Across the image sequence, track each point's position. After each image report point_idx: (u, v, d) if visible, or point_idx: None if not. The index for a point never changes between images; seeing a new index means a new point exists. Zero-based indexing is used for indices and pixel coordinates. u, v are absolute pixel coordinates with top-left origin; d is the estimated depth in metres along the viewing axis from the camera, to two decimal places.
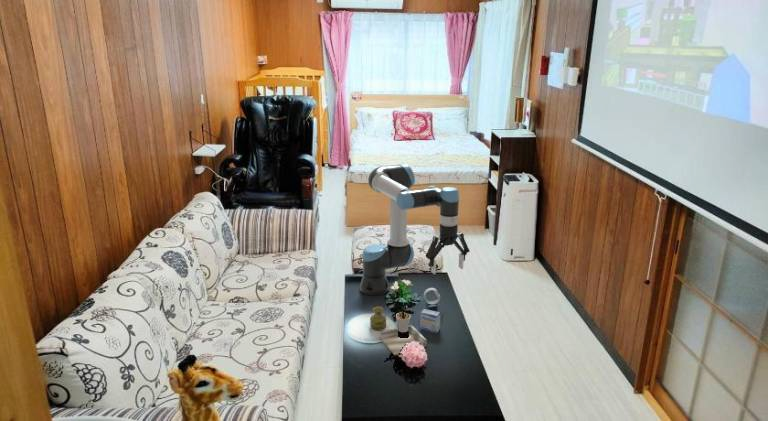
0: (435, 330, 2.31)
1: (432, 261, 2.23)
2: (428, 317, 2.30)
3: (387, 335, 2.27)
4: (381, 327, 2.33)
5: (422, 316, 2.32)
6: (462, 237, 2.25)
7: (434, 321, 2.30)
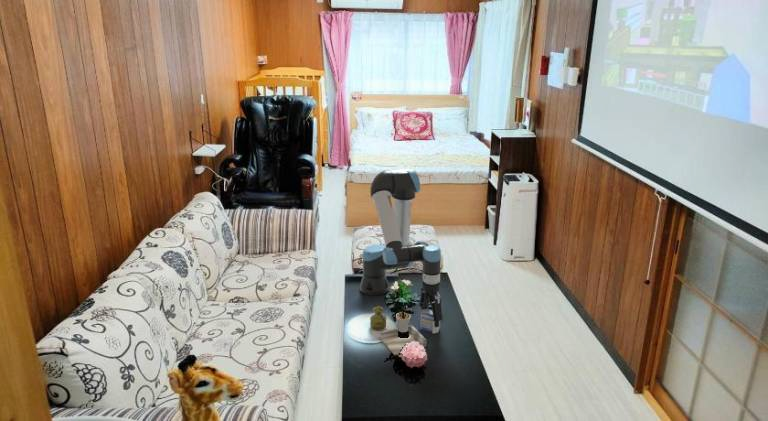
0: None
1: None
2: (428, 317, 2.30)
3: (387, 335, 2.27)
4: (381, 327, 2.33)
5: (422, 316, 2.32)
6: (435, 302, 2.24)
7: None
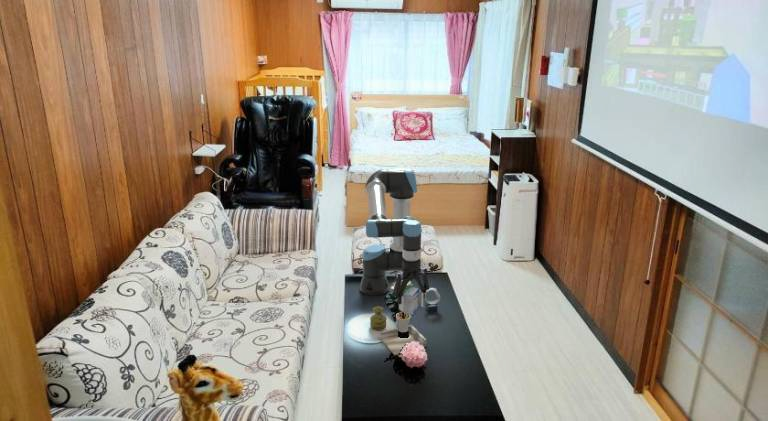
0: (418, 304, 2.23)
1: (400, 299, 2.16)
2: (416, 295, 2.18)
3: (387, 335, 2.27)
4: (381, 327, 2.33)
5: (413, 298, 2.16)
6: (425, 272, 2.18)
7: (418, 295, 2.21)
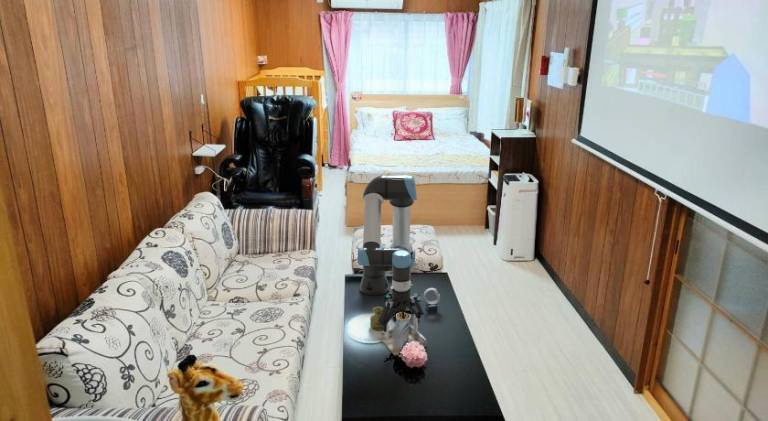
0: (408, 337, 2.24)
1: (385, 326, 2.15)
2: (405, 329, 2.19)
3: None
4: (381, 327, 2.33)
5: (402, 333, 2.17)
6: (416, 300, 2.18)
7: (407, 329, 2.22)
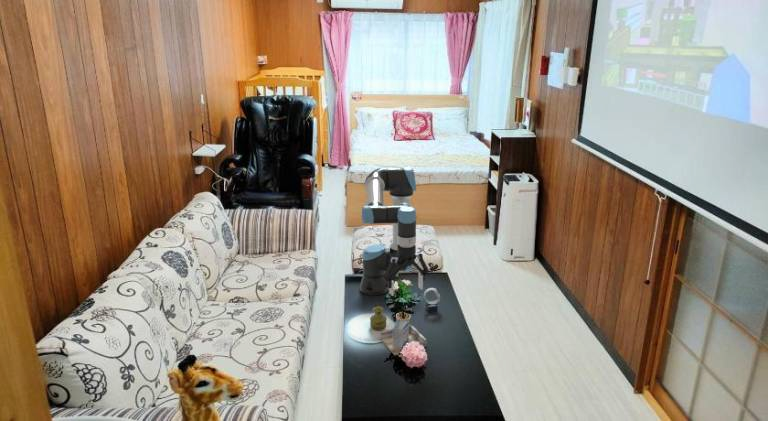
0: (408, 337, 2.24)
1: (390, 283, 2.16)
2: (405, 329, 2.19)
3: (387, 335, 2.27)
4: (381, 327, 2.33)
5: (402, 333, 2.17)
6: (421, 257, 2.18)
7: (407, 329, 2.22)
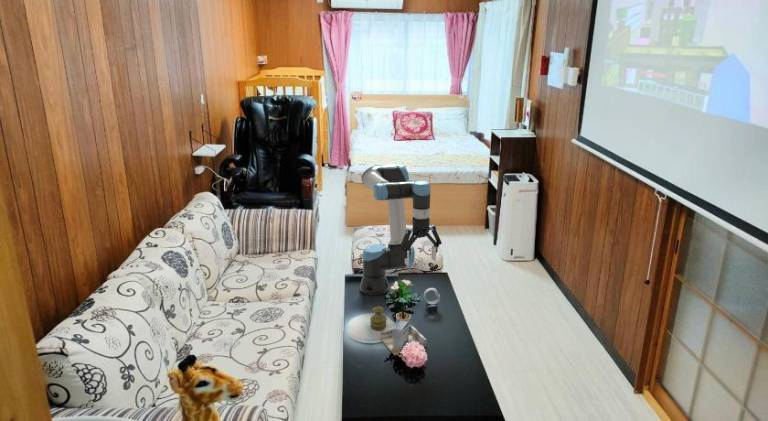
0: (408, 337, 2.24)
1: (405, 253, 2.29)
2: (405, 329, 2.19)
3: (387, 335, 2.27)
4: (381, 327, 2.33)
5: (402, 333, 2.17)
6: (434, 229, 2.32)
7: (407, 329, 2.22)
